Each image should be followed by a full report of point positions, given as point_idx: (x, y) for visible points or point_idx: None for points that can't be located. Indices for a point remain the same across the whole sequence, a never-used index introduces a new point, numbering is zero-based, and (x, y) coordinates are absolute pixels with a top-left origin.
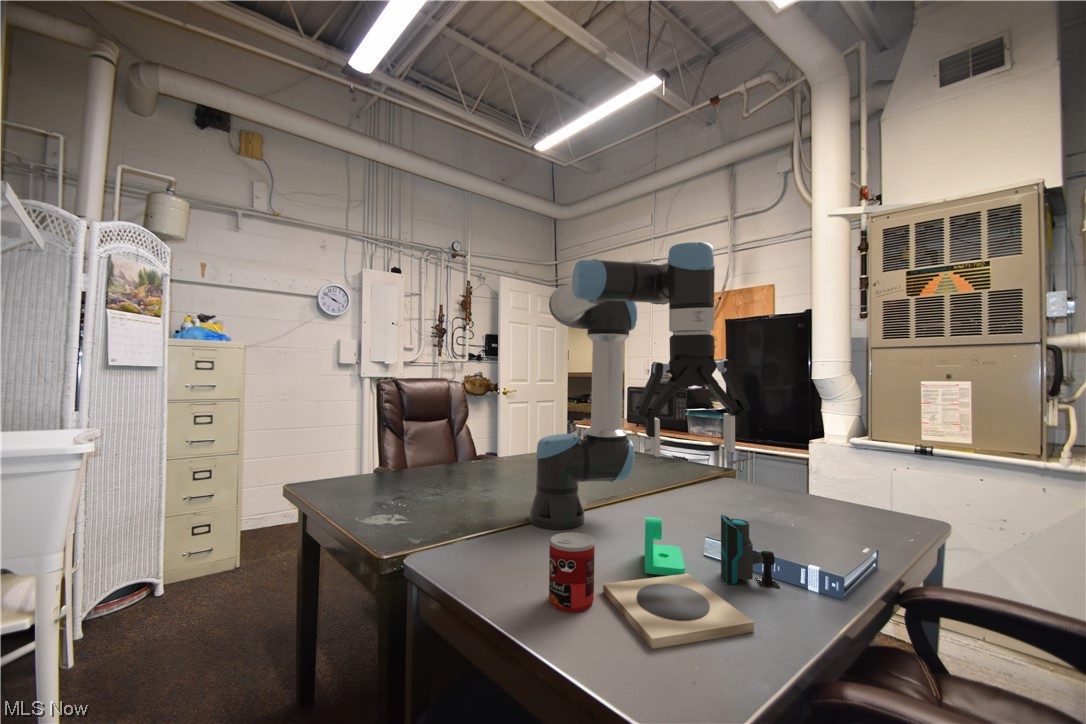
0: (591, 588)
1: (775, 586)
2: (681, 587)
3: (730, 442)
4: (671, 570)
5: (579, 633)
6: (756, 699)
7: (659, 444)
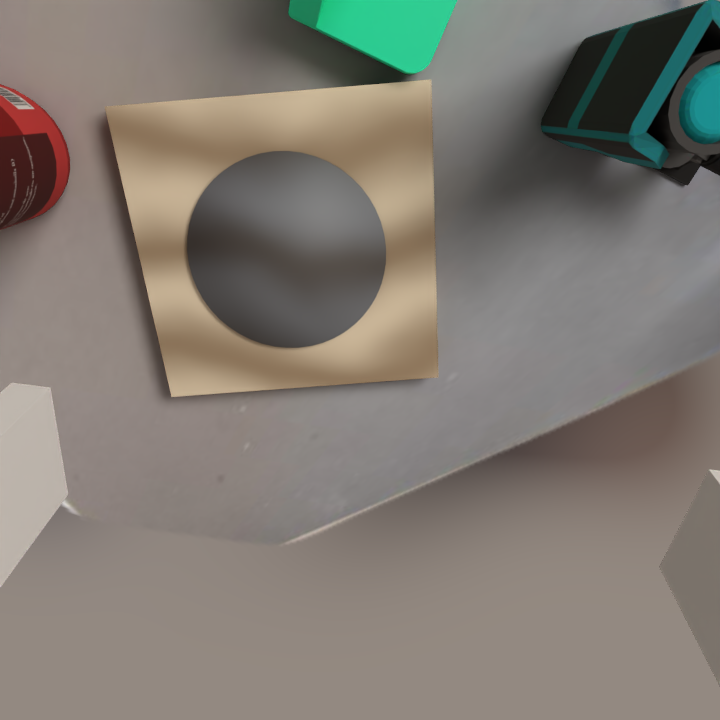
0: (36, 208)
1: (678, 178)
2: (348, 190)
3: (698, 634)
4: (377, 58)
5: (22, 307)
6: (304, 523)
7: (4, 573)
